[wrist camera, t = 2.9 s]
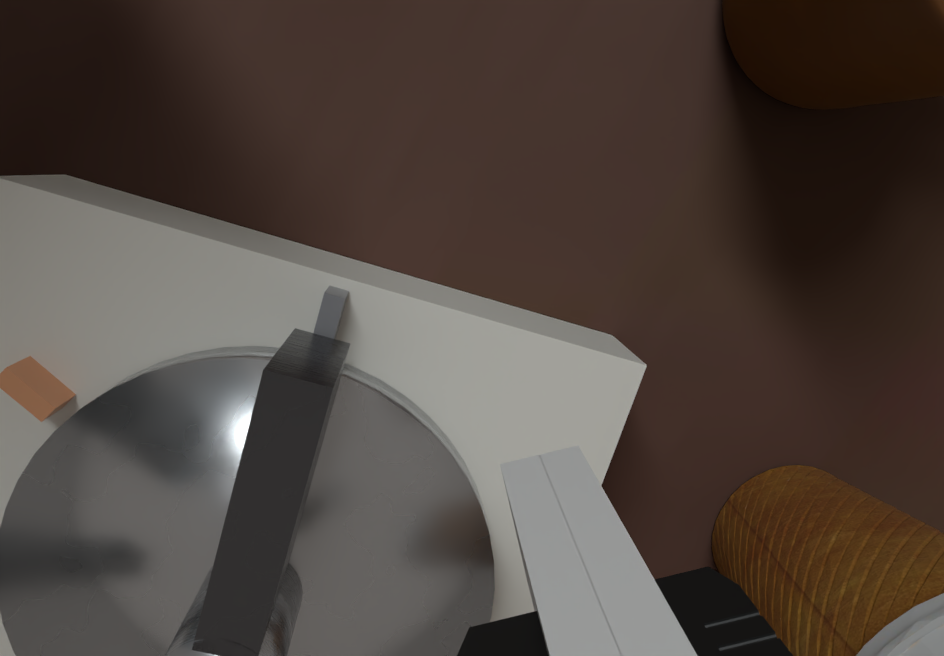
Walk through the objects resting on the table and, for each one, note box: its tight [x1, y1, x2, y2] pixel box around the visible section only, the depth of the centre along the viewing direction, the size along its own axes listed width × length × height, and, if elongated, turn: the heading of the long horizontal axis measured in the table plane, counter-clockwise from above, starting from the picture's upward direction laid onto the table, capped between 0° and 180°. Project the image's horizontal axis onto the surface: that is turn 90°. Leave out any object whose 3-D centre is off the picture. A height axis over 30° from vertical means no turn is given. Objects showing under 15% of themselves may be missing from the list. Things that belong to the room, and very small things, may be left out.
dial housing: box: [0, 174, 647, 656], centre depth 24 cm, size 20×20×5 cm
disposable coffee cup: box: [712, 465, 944, 656], centre depth 22 cm, size 10×10×12 cm
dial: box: [0, 328, 495, 656], centre depth 19 cm, size 16×15×5 cm
